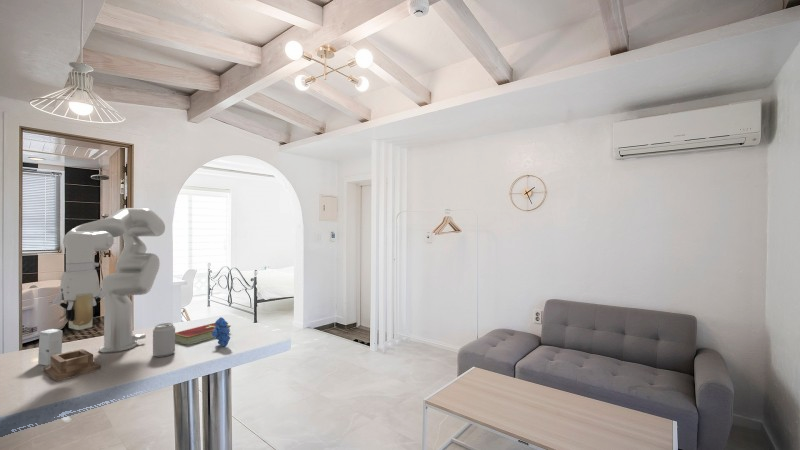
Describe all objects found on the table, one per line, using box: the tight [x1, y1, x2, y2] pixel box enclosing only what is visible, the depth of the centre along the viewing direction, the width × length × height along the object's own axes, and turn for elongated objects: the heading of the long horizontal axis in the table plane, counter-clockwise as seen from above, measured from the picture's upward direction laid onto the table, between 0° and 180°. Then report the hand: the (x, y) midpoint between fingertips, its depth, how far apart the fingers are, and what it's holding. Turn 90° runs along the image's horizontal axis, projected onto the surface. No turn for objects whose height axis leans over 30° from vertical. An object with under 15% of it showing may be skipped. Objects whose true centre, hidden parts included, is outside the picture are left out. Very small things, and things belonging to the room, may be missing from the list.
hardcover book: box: [175, 322, 232, 346], centre depth 169 cm, size 12×21×4 cm, turn 152°
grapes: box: [212, 316, 231, 347], centre depth 156 cm, size 12×7×12 cm, turn 49°
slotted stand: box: [42, 348, 102, 382], centre depth 129 cm, size 12×14×6 cm
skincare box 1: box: [37, 328, 64, 367], centre depth 136 cm, size 6×4×12 cm
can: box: [152, 322, 176, 358], centre depth 146 cm, size 8×8×12 cm
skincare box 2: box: [68, 293, 94, 331], centre depth 128 cm, size 6×4×12 cm
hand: (80, 318), depth 128 cm, fingers closed on skincare box 2, 4 cm apart
